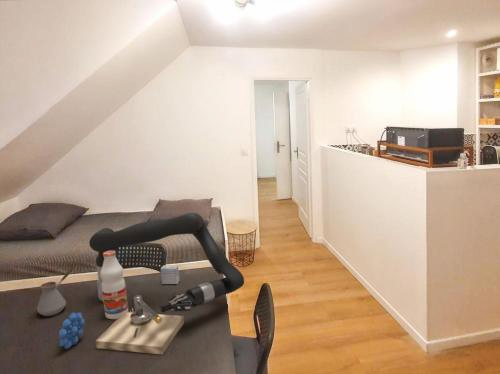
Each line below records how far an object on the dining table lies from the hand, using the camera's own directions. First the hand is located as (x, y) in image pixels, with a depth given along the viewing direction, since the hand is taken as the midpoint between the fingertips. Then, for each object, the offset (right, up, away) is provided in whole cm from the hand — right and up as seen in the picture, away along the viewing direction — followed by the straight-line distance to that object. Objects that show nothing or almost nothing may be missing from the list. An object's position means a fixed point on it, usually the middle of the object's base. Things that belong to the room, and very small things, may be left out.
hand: (160, 309), depth 135 cm
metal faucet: (-5, -8, +2) cm, 9 cm away
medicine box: (-7, -3, +47) cm, 48 cm away
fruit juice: (-24, -9, +20) cm, 32 cm away
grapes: (-33, -13, 0) cm, 36 cm away
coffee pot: (-52, -8, +29) cm, 60 cm away
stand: (-8, -11, +3) cm, 14 cm away
